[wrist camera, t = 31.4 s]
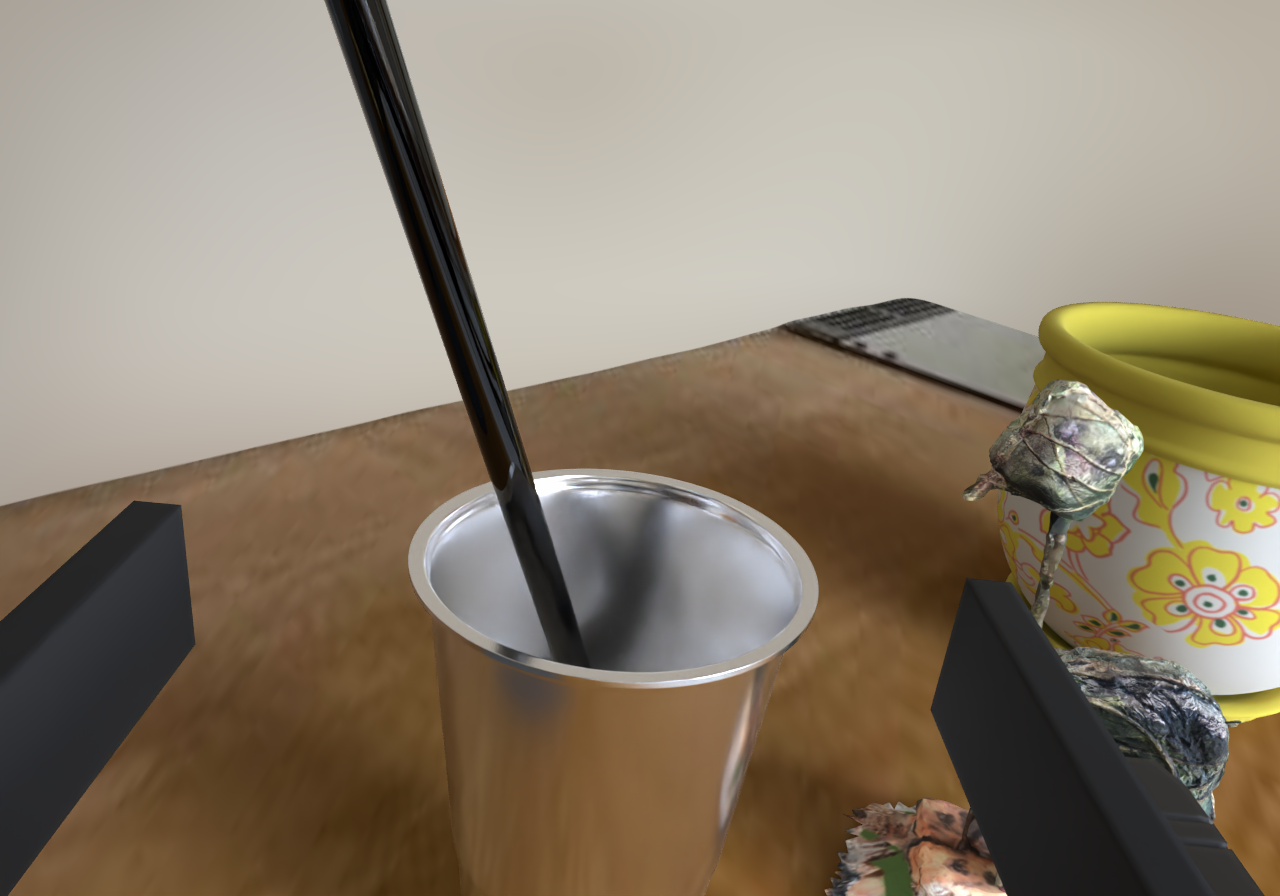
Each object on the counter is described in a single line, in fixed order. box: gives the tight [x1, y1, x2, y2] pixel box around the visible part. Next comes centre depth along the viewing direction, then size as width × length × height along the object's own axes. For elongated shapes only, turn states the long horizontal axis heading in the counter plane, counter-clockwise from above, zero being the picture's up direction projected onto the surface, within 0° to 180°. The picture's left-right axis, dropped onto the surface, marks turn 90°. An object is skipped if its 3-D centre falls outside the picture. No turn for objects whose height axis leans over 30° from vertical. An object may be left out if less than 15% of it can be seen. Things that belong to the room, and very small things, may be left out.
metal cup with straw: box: [324, 0, 819, 896], centre depth 23 cm, size 11×11×30 cm
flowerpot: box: [998, 302, 1280, 723], centre depth 47 cm, size 18×18×16 cm
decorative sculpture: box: [825, 379, 1246, 896], centre depth 30 cm, size 8×11×20 cm
